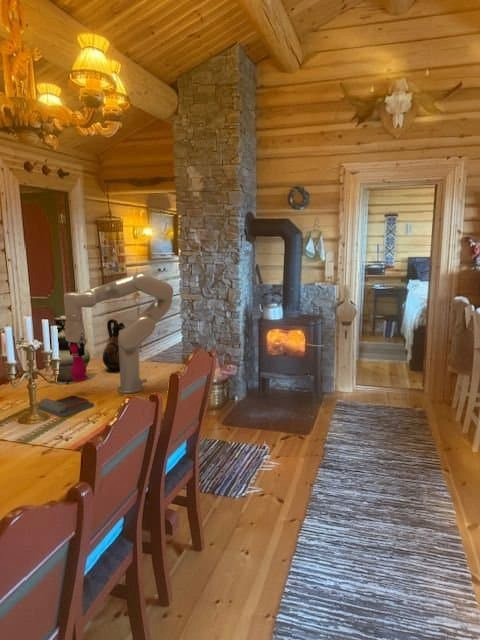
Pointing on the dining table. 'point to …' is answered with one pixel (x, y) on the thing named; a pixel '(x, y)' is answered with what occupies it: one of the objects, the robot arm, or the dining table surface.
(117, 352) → the ceramic jug
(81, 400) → the dark slab
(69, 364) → the decorative urn
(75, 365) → the pepper mill
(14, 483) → the dining table surface
